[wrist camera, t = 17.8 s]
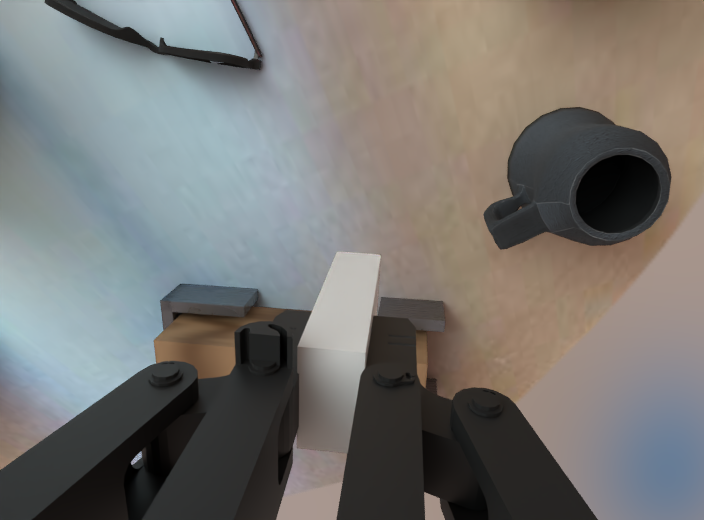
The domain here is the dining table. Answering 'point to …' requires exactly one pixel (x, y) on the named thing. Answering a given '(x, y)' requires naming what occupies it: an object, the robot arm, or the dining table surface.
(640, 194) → the mug
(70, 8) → the sunglasses
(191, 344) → the walnut slat
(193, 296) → the slat support bracket
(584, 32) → the dining table surface
